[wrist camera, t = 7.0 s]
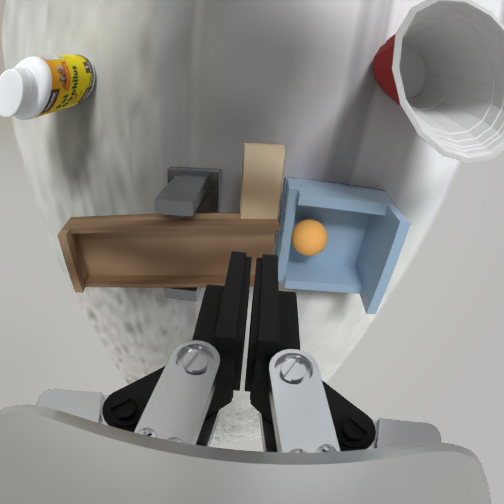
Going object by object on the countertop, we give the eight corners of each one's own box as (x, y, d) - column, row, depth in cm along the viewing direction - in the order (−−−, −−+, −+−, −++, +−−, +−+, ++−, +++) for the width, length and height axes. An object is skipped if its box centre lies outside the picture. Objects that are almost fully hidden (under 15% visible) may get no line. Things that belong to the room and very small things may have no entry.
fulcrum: (170, 167, 28) (142, 195, 22) (220, 169, 28) (205, 199, 22) (175, 256, 33) (156, 298, 27) (218, 260, 33) (207, 304, 27)
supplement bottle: (89, 110, 24) (22, 134, 16) (52, 99, 23) (-16, 121, 15) (105, 58, 21) (36, 62, 13) (64, 51, 20) (-6, 57, 12)
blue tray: (285, 176, 28) (289, 207, 22) (383, 190, 27) (410, 223, 22) (274, 263, 33) (274, 308, 27) (360, 271, 33) (375, 314, 27)
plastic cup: (319, 71, 22) (356, 67, 12) (388, -2, 17) (457, -34, 7) (402, 149, 25) (469, 200, 15) (463, 80, 20) (547, 100, 10)
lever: (59, 152, 19) (42, 163, 17) (282, 144, 22) (292, 154, 20) (86, 276, 26) (77, 296, 24) (267, 275, 29) (273, 296, 26)
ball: (307, 209, 30) (286, 219, 27) (337, 223, 28) (317, 234, 25) (302, 239, 31) (281, 251, 29) (330, 254, 29) (310, 267, 27)
